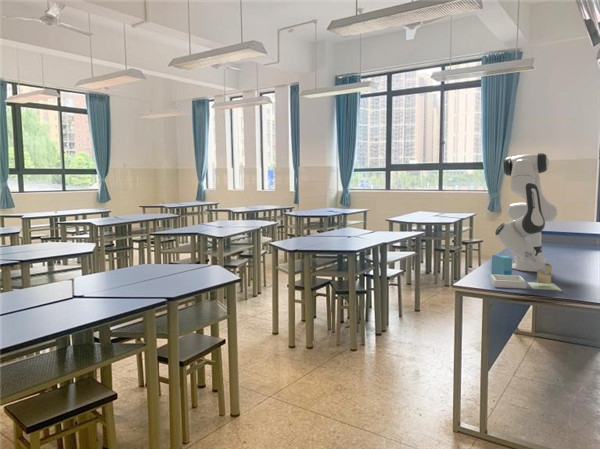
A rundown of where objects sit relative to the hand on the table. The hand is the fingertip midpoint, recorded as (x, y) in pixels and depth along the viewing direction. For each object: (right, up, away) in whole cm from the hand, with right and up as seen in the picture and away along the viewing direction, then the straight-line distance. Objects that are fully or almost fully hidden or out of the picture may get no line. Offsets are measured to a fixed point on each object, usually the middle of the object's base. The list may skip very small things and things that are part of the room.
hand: (545, 271), depth 209 cm
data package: (-10, -6, +24) cm, 26 cm away
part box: (-1, -5, +1) cm, 5 cm away
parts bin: (-16, -8, +5) cm, 18 cm away
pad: (0, -8, +1) cm, 8 cm away
